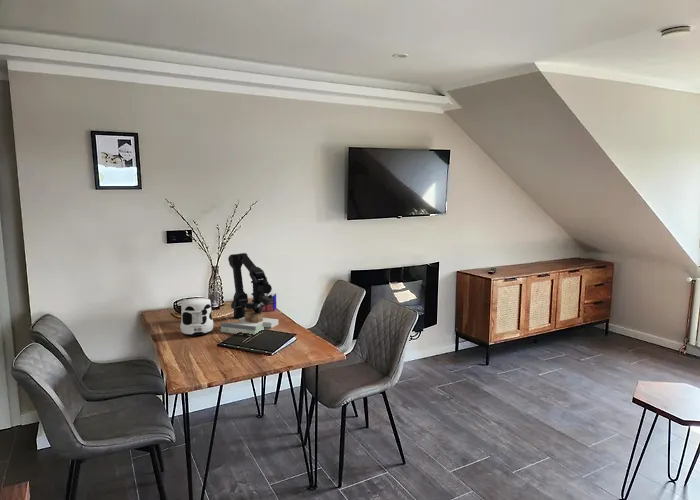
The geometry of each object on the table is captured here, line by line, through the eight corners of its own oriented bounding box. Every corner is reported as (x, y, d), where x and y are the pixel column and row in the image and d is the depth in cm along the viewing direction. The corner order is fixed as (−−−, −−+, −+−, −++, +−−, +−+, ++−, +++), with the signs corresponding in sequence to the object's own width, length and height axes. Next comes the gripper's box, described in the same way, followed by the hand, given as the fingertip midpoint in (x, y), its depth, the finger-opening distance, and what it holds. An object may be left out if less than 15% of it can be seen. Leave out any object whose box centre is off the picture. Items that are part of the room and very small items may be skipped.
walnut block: (244, 321, 273) (244, 313, 272) (249, 319, 277) (249, 311, 277) (257, 323, 269) (257, 315, 269) (262, 320, 274) (262, 313, 273)
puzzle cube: (273, 311, 310) (273, 296, 308) (258, 311, 310) (258, 296, 309) (276, 307, 320) (276, 293, 318) (261, 307, 320) (261, 293, 319)
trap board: (221, 331, 263) (220, 323, 262) (246, 320, 286) (246, 312, 285) (254, 336, 255) (254, 327, 254) (278, 324, 278) (278, 316, 277)
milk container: (198, 327, 272) (197, 296, 270) (220, 331, 263) (219, 299, 261) (173, 334, 257) (172, 302, 255) (195, 339, 248) (194, 306, 246)
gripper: (261, 295, 264) (262, 322, 266) (278, 289, 281) (278, 314, 283) (244, 294, 268) (245, 320, 270) (261, 288, 285) (262, 313, 287)
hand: (258, 317), depth 277 cm, fingers closed
